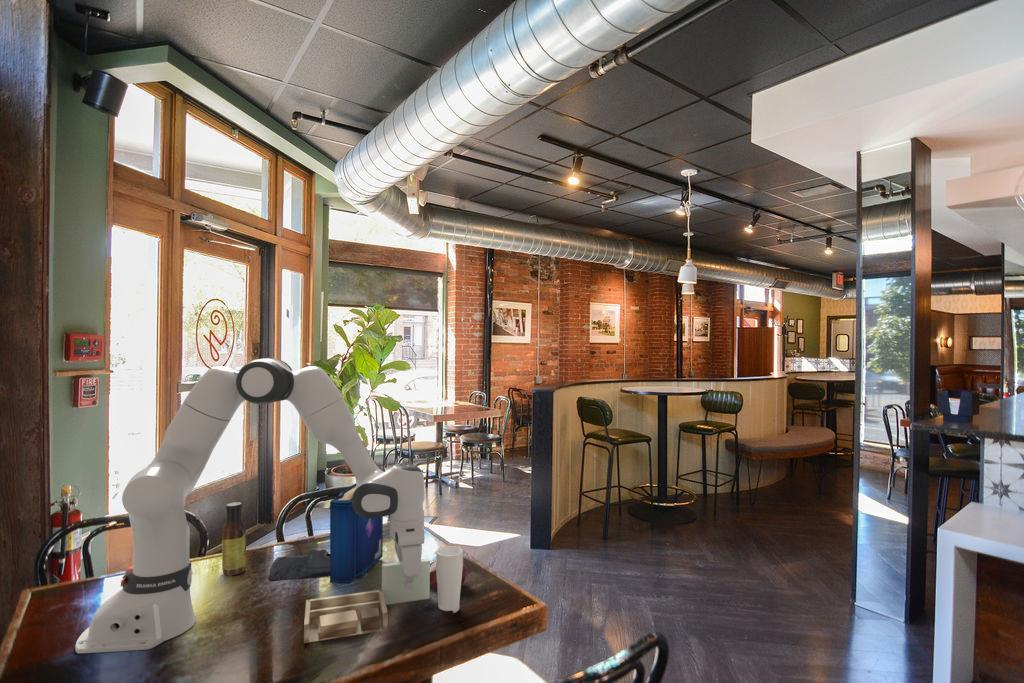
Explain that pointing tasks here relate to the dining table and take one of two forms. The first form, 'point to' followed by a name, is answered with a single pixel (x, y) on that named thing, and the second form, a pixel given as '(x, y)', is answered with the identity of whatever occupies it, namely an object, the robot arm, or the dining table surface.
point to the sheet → (396, 583)
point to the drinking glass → (449, 577)
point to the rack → (343, 604)
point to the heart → (434, 577)
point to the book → (352, 540)
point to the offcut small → (370, 619)
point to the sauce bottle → (234, 541)
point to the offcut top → (338, 621)
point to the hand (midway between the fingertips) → (405, 580)
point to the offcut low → (336, 633)
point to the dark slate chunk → (301, 566)
